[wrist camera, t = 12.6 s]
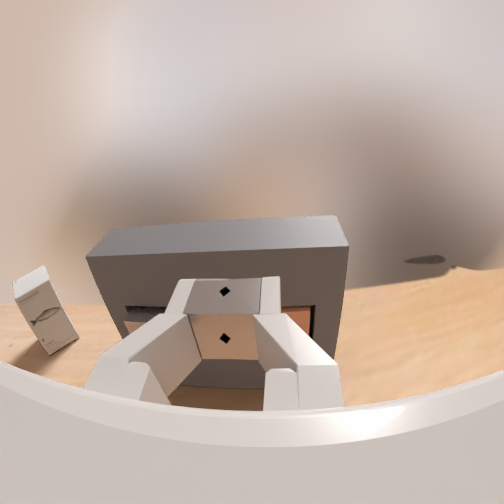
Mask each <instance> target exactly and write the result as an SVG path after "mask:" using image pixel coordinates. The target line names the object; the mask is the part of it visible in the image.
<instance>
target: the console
mask: <svg viewBox="0 0 504 504" xmlns="http://www.w3.org/2000/svg"><path fill="white" fill-rule="evenodd" d="M348 252H349V245H348V243H347V240H346V238H345V236H344V233H343V231H342V229H341V226H340V224H339V222H338V220H337V217H336V216H303V217H277V218H257V219H237V220H221V221H204V222H189V223H176V224H162V225H149V226H137V227H127V228H115V229H111V230H110V231H109V232H108V233H107V234H106V236H105V237H104V238H103V239H102V240H101V241H100V242H99V243H98V244H97V245H96V246H95V247H94V248H93V249H92V250H91V251H90V252H89V253H88V254H87V255H86V260H87V262H88V265H89V267H90V270H91V272H92V275H93V277H94V279H95V282H96V284H97V286H98V288H99V291H100V293H101V295H102V298H103V300H104V302H105V304H106V306H107V309H108V311H109V313H110V315H111V317H112V319H113V321H114V323H115V325H116V327H117V329H118V331H119V333H120V335H121V337H122V339H124V338H125V337H127V336H128V335H130V333H129V331H128V329H127V327H126V325H125V323H124V319H125V317H126V316H127V314H128V312H129V310H130V308H131V307H132V306H152V307H167V306H168V303H169V301H170V299H171V297H172V294H173V292H174V290H175V288H176V285H177V283H178V281H179V280H181V279H244V278H262V277H274V276H279V277H280V292H281V306H305V305H310V325H309V337H310V338H311V339H312V340H313V341H314V342H315V343H316V344H317V345H318V346H319V347H320V348H322V349H323V350H324V351H325V352H326V353H327V354H328V355H329V356H330V357H331V358H332V359H333V360H334V355H335V349H336V343H337V337H338V331H339V325H340V318H341V311H342V304H343V297H344V289H345V280H346V271H347V261H348ZM265 375H266V372H265V370H264V369H263V367H262V366H261V364H260V363H259V360H241V359H202V361H201V362H200V363H199V364H198V365H197V366H196V367H195V368H194V369H193V371H192V372H191V373H190V374H189V375H188V376H187V377H186V378H185V379H184V380H183V381H182V382H181V383H180V384H179V385H185V386H197V387H211V388H232V389H265Z"/></svg>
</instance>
